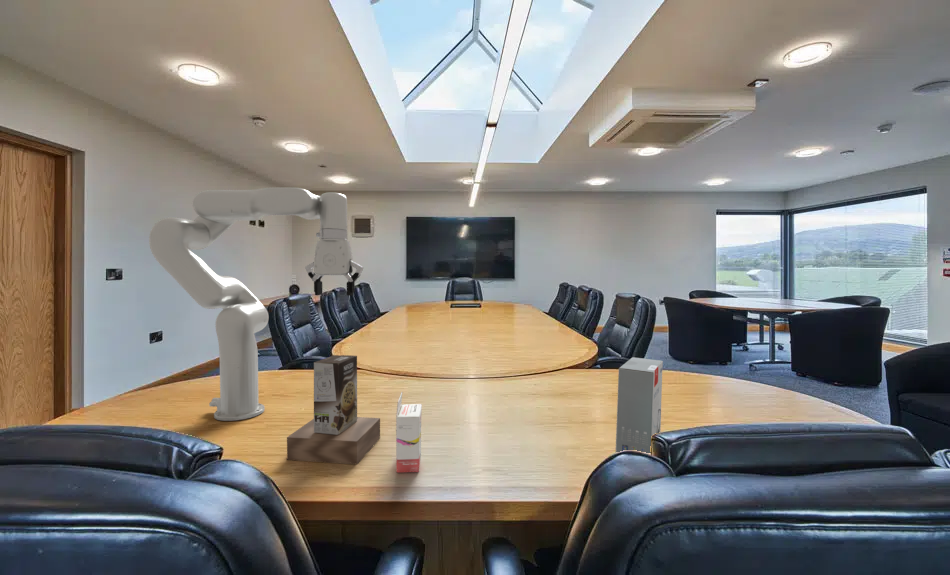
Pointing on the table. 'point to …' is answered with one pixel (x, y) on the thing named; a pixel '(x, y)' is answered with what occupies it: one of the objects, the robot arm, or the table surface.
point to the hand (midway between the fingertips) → (334, 295)
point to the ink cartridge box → (408, 437)
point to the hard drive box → (638, 404)
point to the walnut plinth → (334, 442)
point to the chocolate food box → (335, 394)
